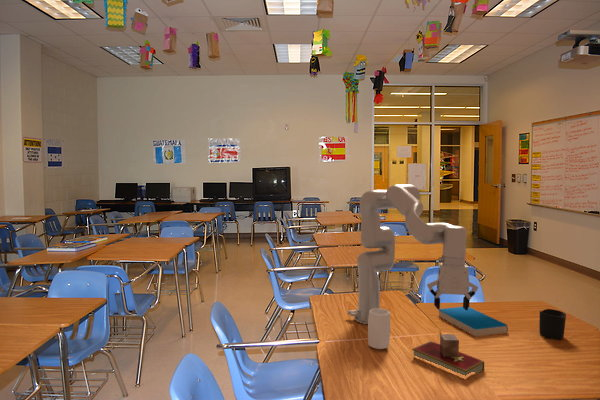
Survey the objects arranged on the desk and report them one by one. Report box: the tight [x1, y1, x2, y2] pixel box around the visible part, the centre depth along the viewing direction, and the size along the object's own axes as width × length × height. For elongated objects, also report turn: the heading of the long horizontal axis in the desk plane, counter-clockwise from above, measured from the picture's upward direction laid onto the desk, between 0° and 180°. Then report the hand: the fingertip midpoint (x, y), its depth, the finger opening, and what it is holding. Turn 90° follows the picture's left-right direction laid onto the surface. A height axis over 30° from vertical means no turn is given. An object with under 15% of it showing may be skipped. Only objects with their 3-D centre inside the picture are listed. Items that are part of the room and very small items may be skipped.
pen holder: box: [538, 308, 567, 341], centre depth 173 cm, size 9×9×10 cm
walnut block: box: [439, 333, 460, 357], centre depth 146 cm, size 5×5×6 cm
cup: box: [367, 307, 391, 350], centre depth 159 cm, size 8×8×14 cm
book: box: [437, 306, 509, 337], centre depth 186 cm, size 17×4×25 cm
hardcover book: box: [411, 340, 485, 376], centre depth 147 cm, size 12×21×4 cm, turn 39°
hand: (451, 308), depth 147 cm, fingers open, 9 cm apart
